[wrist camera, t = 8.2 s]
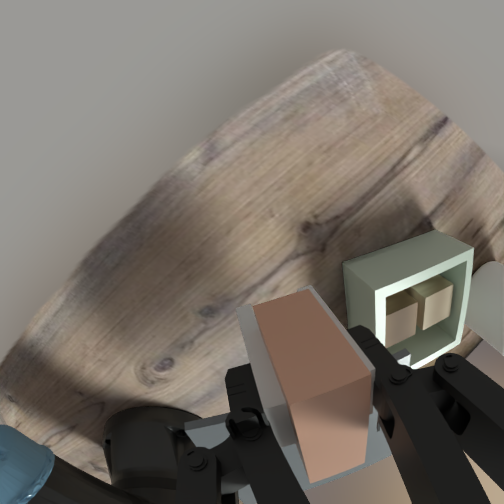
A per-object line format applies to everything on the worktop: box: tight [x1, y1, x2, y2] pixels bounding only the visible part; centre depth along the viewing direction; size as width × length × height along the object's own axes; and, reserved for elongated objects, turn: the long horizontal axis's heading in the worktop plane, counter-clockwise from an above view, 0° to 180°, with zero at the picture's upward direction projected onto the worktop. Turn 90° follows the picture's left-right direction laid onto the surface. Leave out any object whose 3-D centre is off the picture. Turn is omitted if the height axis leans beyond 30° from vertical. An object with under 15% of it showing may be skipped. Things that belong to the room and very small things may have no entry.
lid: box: [184, 289, 411, 504], centre depth 14 cm, size 13×19×6 cm
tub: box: [342, 229, 474, 369], centre depth 28 cm, size 12×12×6 cm
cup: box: [464, 261, 504, 356], centre depth 29 cm, size 10×10×10 cm
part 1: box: [385, 290, 418, 348], centre depth 27 cm, size 4×4×4 cm
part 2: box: [404, 274, 454, 330], centre depth 28 cm, size 4×4×4 cm
